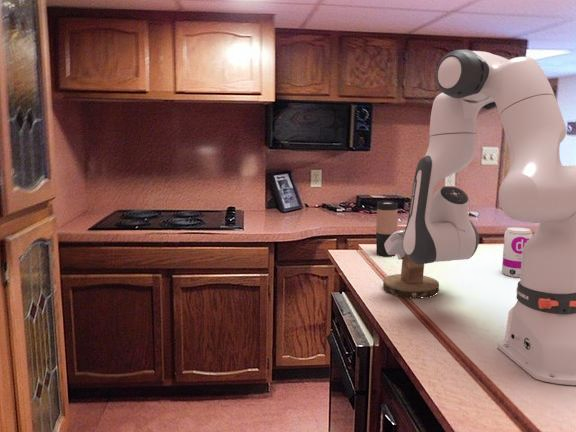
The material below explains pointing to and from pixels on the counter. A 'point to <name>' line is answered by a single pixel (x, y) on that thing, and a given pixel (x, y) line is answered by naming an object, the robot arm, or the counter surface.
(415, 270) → the walnut block
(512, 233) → the supplement can
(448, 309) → the counter surface
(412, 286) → the wood slice
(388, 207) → the travel mug
